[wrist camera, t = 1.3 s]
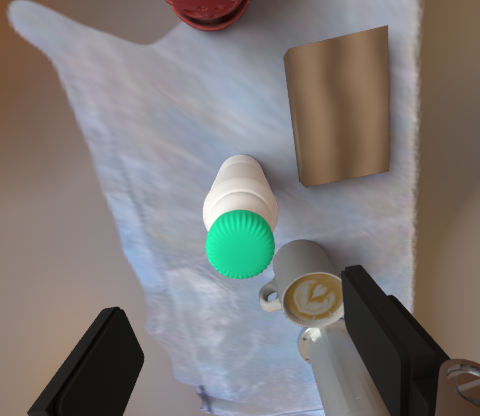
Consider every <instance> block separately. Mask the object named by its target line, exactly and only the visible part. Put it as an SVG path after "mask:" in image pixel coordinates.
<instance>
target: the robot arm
mask: <svg viewBox="0 0 480 416" xmlns="http://www.w3.org/2000/svg"><path fill="white" fill-rule="evenodd" d="M341 281H342V294H343V307H344V319H345V320H344V319H341V318H339V319H338V320H337V321H336V322H334V323H332V324H330V325H327V326H325V327H320V328H304V329H303V331H302V332H301V334H300V335H299V338H298V349H299V352H300V355H301V356H302V358H303V359H304V360H305V361H306V362H307V363H309V364H311V367H312V370H313V374H314V377H315V381H316V384H317V388H318V391H319V395H320V398H321V402H322V405H323V408H324V412H325V415H326V416H480V364H479V363H476V362H473V361H470V360H466V359H450V358H449V357H448V355H447V354H446V353H445V352H444V351H443V350H442V349H441V347H440V346H439V345H438V344H437V343H436V342H435V341H434V340H433V338H432V337H431V336H430V335H429V334H428V333H427V332H426V331H425V329H424V328H423V327H422V326H421V325H420V324H419V323H418V322H417V320H416V319H415V318H414V317H413V316H412V315H411V314H410V313H409V311H408V310H407V309H406V308H405V307H404V306H403V305H402V304H401V302H400V301H399V300H398V299H397V298H396V297H395V296H393V295H388V296H387V295H386V294H385V293H384V292H383V291H382V289H381V288H380V287H379V286H378V285H377V284H376V282H375V281H374V280H373V279H372V278H371V276H370V275H369V274H368V273H367V272H366V270H365V269H364V268H363V267H362V266H361V265H355V266H349V267H346V268H345V271H342V272H341ZM143 363H144V353H143V351H142V349H141V347H140V345H139V343H138V340H137V338H136V336H135V334H134V331H133V329H132V327H131V325H130V323H129V321H128V318H127V316H126V314H125V312H124V310H122V309H120V308H119V307H111V308H105V309H103V310H102V311H101V312H100V314H99V315H98V316H97V318H96V319H95V320H94V322H93V323H92V325H91V326H90V327H89V329H88V330H87V331H86V333H85V334H84V335H83V337H82V338H81V340H80V341H79V342H78V344H77V345H76V346H75V348H74V349H73V351H72V352H71V353H70V355H69V356H68V357H67V359H66V360H65V361H64V363H63V364H62V366H61V367H60V368H59V370H58V371H57V372H56V374H55V375H54V377H53V378H52V379H51V381H50V382H49V384H48V385H47V386H46V388H45V389H44V390H43V392H42V393H41V394H40V396H39V397H38V399H37V400H36V401H35V403H34V404H33V405H32V407H31V408H30V409H29V411H28V412H27V414H28V415H29V416H123V413H124V411H125V408H126V406H127V403H128V401H129V398H130V396H131V393H132V391H133V388H134V386H135V383H136V381H137V378H138V376H139V373H140V371H141V368H142V366H143Z"/></svg>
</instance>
